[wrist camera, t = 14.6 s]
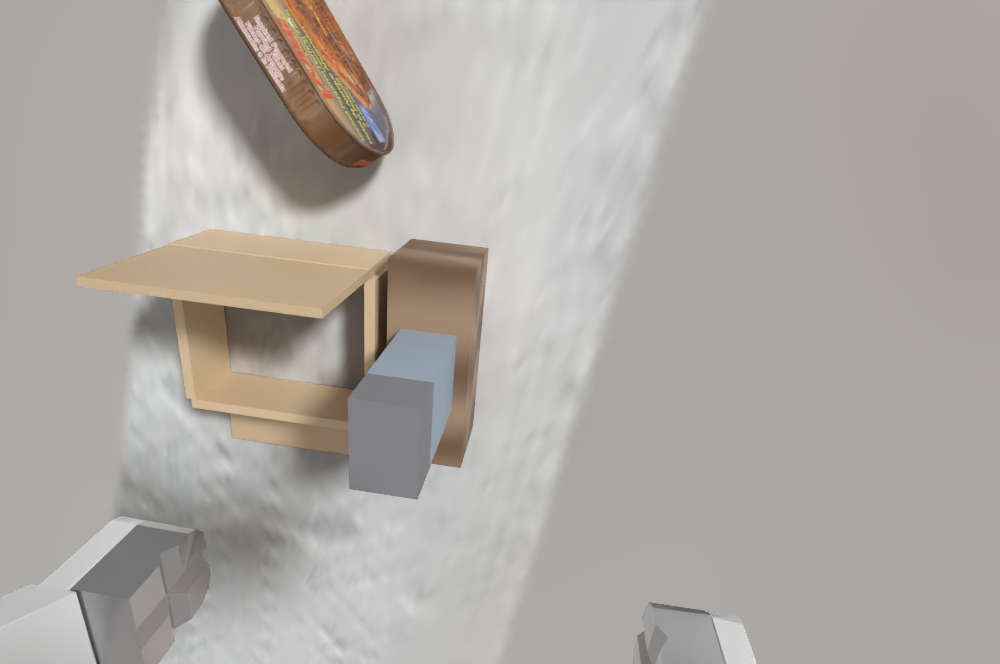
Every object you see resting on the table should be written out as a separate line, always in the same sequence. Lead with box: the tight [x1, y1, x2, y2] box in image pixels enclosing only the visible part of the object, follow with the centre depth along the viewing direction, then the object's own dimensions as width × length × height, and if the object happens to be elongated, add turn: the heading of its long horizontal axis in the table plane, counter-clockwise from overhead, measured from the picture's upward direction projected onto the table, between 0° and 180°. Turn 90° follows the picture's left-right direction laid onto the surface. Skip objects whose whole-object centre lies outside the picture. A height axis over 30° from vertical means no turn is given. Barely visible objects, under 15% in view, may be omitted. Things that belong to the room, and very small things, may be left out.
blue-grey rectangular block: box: [348, 329, 457, 499], centre depth 34 cm, size 6×4×10 cm, turn 175°
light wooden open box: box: [75, 229, 391, 455], centre depth 41 cm, size 20×16×13 cm
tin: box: [219, 0, 394, 168], centre depth 34 cm, size 15×3×8 cm, turn 29°
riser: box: [387, 239, 488, 468], centre depth 42 cm, size 16×6×6 cm, turn 175°
